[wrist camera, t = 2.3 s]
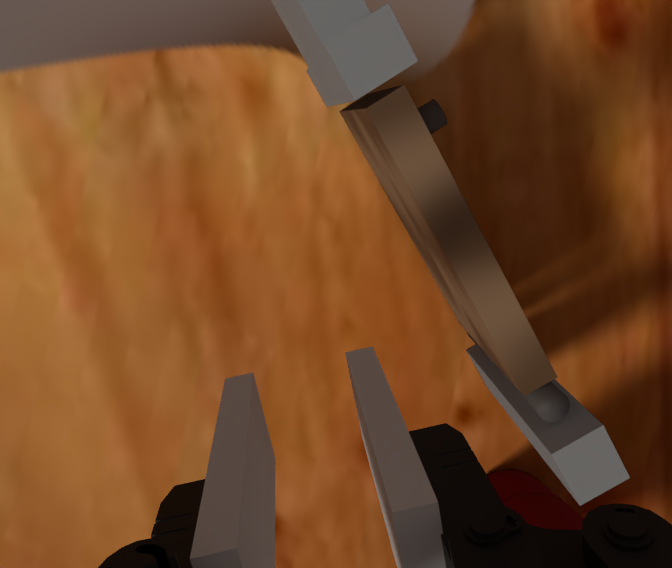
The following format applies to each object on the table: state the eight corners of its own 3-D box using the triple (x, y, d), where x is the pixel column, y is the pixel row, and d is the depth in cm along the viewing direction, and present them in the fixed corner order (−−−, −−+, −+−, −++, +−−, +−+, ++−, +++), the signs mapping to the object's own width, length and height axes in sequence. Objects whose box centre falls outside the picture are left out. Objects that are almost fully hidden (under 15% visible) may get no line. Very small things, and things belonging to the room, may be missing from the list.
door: (520, 317, 33) (610, 390, 24) (472, 345, 33) (543, 429, 24) (393, 77, 29) (446, 58, 20) (339, 111, 29) (367, 108, 20)
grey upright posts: (522, 368, 35) (630, 477, 24) (488, 388, 35) (579, 505, 24) (305, -33, 27) (323, -127, 17) (262, -6, 28) (254, -82, 17)
